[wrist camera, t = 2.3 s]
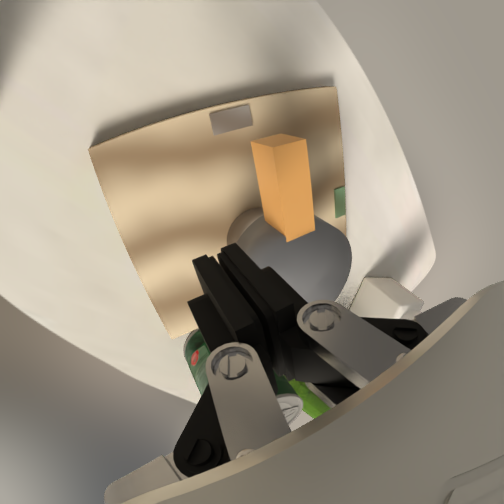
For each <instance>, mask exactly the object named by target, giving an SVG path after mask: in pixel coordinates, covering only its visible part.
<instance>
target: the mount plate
mask: <svg viewBox="0 0 504 504" xmlns="http://www.w3.org/2000/svg"><path fill="white" fill-rule="evenodd" d="M277 134H286V135H290V136H295V137H299V138H304V139H306V143H307V151H308V160H309V169H310V178H311V188H312V199H313V210H314V215H316V216H317V217H319V218H321V219H322V220H324V221H326V222H327V223H329V224H331V225H332V226H334V227H336V228H337V229H339V230H340V231H341V232H342V233H343V234H344V235H345V236H346V203H345V179H344V162H343V148H342V135H341V125H340V115H339V106H338V97H337V89H336V87H330V86H325V87H315V88H307V89H299V90H292V91H285V92H279V93H273V94H267V95H261V96H256V97H251V98H246V99H241V100H236V101H232V102H227V103H223V104H219V105H215V106H211V107H207V108H203V109H199V110H195V111H192V112H188V113H185V114H181V115H178V116H174V117H171V118H168V119H165V120H161V121H158V122H155V123H152V124H149V125H146V126H143V127H140V128H138V129H135V130H132V131H129V132H127V133H124V134H121V135H119V136H116V137H113V138H111V139H108V140H106V141H103V142H101V143H99V144H96V145H94V146H91V147H90V148H89V149H88V151H89V154H90V157H91V160H92V163H93V166H94V169H95V172H96V175H97V177H98V180H99V183H100V186H101V188H102V191H103V194H104V196H105V199H106V201H107V204H108V207H109V209H110V212H111V214H112V217H113V219H114V221H115V224H116V226H117V229H118V231H119V233H120V236H121V238H122V240H123V243H124V245H125V247H126V249H127V252H128V254H129V256H130V258H131V260H132V263H133V265H134V267H135V269H136V271H137V273H138V275H139V277H140V279H141V282H142V284H143V286H144V288H145V290H146V292H147V294H148V296H149V298H150V300H151V302H152V303H153V305H154V307H155V309H156V311H157V313H158V315H159V317H160V319H161V321H162V322H163V324H164V326H165V328H166V330H167V332H168V333H169V335H170V337H171V339H174V338H177V337H179V336H181V335H184V334H186V333H188V332H191V331H193V330H195V329H198V326H197V324H196V321H195V319H194V317H193V315H192V312H191V310H190V308H189V306H188V303H187V301H189V300H192V299H194V298H196V297H199V296H201V295H203V294H204V293H203V290H202V288H201V285H200V282H199V280H198V277H197V274H196V271H195V269H194V266H193V263H192V260H193V259H196V258H198V257H200V256H203V255H205V254H206V255H207V256H208V257H211V256H214V258H215V259H216V260H217V262H218V263H219V261H218V258H217V254H218V253H221V248H222V247H225V246H227V245H230V244H232V243H237V241H238V239H239V238H240V236H241V235H242V234H243V232H244V231H245V230H246V229H247V228H248V227H249V226H250V225H251V224H252V223H253V222H254V221H255V220H257V219H258V218H259V217H261V216H262V215H264V212H263V207H262V201H261V195H260V190H259V184H258V179H257V174H256V168H255V163H254V157H253V152H252V147H251V142H250V141H254V140H257V139H261V138H265V137H269V136H273V135H277Z"/></svg>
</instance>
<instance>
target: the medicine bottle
mask: <svg viewBox="0 0 504 504" xmlns="http://www.w3.org/2000/svg"><path fill="white" fill-rule="evenodd" d="M423 304H424V302H423V300H421V299H419V297H417V296H416V295H414V294H413V293H412V292H410V291H409V290H408V289H406V288H405V287H403V286H402V285H401V284H399V283H398V282H396V281H395V280H394V279H392V278H373V277H366V278H364V280H363V282H362V284H361V286H360V288H359V290H358V292H357V295H356V297H355V299H354V301H353V303H352V305H351V307H350V309H349V311H351V312H353V313H354V314H356V315H357V316H359V317H370V318H391V319H408V320H413V319H414V316H416V315H419V314H421V313H422V312H420V310H421V308H422V306H423Z"/></svg>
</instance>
